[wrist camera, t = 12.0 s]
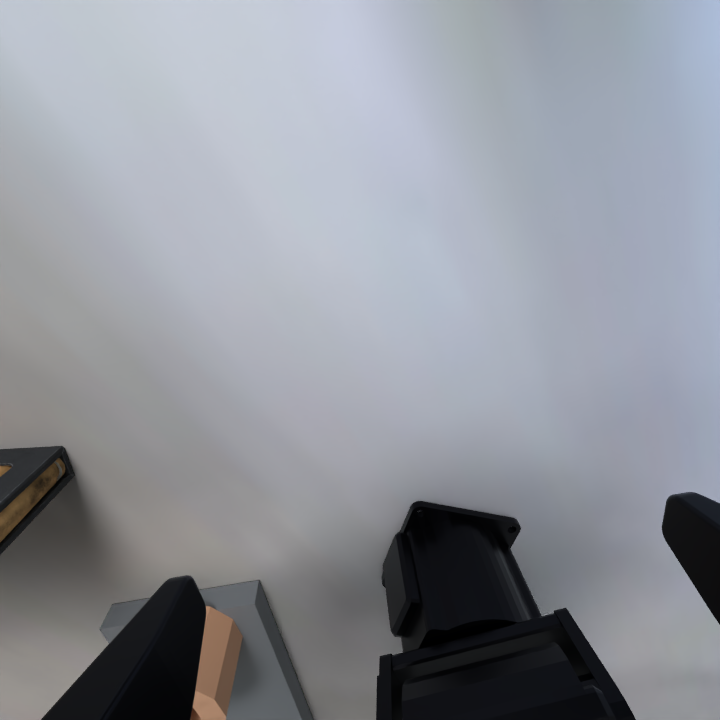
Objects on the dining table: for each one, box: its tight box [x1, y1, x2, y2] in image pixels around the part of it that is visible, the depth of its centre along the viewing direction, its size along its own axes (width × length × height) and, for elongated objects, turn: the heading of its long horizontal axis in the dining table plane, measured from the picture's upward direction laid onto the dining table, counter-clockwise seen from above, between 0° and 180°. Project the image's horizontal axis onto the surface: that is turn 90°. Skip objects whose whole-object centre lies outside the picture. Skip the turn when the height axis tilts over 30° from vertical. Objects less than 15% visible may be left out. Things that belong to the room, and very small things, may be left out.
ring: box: [190, 606, 243, 720], centre depth 22 cm, size 6×6×4 cm
